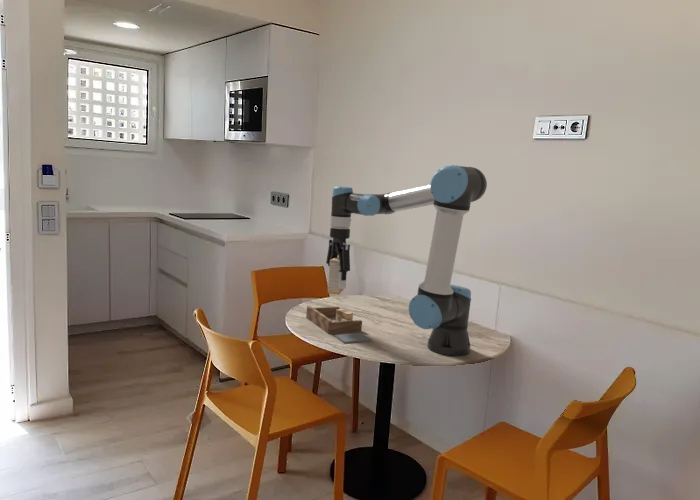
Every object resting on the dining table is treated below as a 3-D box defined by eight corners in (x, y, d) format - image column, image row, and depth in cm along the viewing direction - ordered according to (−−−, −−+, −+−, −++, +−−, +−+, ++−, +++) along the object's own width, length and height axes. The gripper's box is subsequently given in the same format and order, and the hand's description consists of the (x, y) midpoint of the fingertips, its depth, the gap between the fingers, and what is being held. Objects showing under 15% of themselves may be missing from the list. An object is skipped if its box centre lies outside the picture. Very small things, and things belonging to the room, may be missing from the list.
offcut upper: (352, 319, 222) (353, 313, 222) (346, 320, 220) (346, 313, 220) (341, 314, 227) (342, 308, 227) (335, 315, 226) (336, 309, 225)
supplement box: (339, 295, 214) (342, 260, 212) (327, 293, 215) (329, 259, 213) (344, 290, 222) (346, 257, 220) (332, 289, 223) (334, 256, 221)
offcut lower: (352, 327, 221) (352, 320, 221) (344, 328, 220) (345, 320, 219) (342, 321, 229) (343, 313, 229) (335, 321, 228) (335, 314, 227)
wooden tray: (361, 331, 216) (362, 318, 215) (327, 333, 210) (328, 320, 209) (337, 315, 235) (338, 304, 234) (306, 317, 229) (307, 305, 228)
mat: (371, 341, 205) (371, 339, 205) (344, 343, 200) (344, 341, 200) (361, 334, 212) (361, 332, 212) (334, 336, 207) (334, 334, 207)
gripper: (362, 231, 207) (357, 291, 210) (337, 224, 226) (333, 279, 229) (343, 231, 203) (339, 292, 207) (319, 224, 222) (316, 280, 226)
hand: (336, 285), depth 218 cm, fingers closed on supplement box, 9 cm apart
